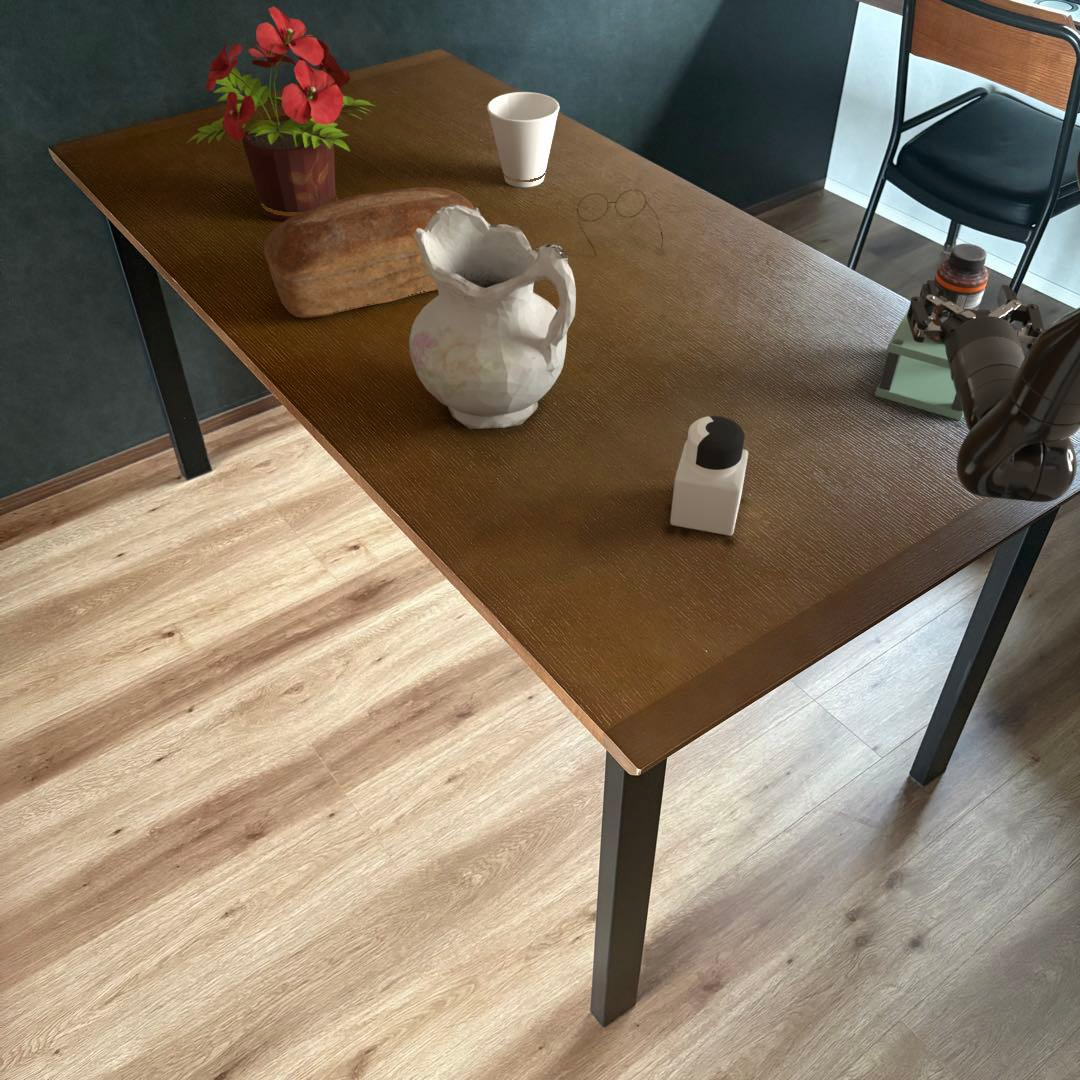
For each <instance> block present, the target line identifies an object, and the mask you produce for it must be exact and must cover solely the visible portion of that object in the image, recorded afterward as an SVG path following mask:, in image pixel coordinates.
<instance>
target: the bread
mask: <svg viewBox="0 0 1080 1080" xmlns="http://www.w3.org/2000/svg"><path fill="white" fill-rule="evenodd" d="M450 204H451V205H453V204H456V205H459V206H465V207H467V208H469V209H472V210H475V209H476V207H474V205H473V203H472V202H471V201H470V200H469V199H467V198H466V197H465V196H463V195H462V194H460V193H458V192H456V191H454V190H450V189H446V188H441V187H432V186H427V187H426V186H418V187H417V186H416V187H410V188H400V189H391V190H383V191H375V192H366V193H360V194H355V195H352V196H349V197H344V198H342V199H338V201H335V202H332V203H329V204H326V205H323V206H320V207H317V208H313V209H310V210H307V211H305V212H302V213H299V214H297V215H295V216H293V217H291V218H289V219H287V220H286V221H281V223H279V224H278V225H277V226H276V227H275V228H273V229H272V230H271V232H270V233H269V234H268V235H267V236H266V240H264V242H263V253H264V256H265V259H266V260H267V264H268V268H269V272H270V275H271V278H272V281H273V284H274V286H275V289H276V292H277V295H278V298H279V297H280V298H279V301H280V302H282V303H281V304H282V306H283V305H284V306H283V307H284V308H285V310H286V309H287V310H286V311H287V312H288V313H289V314H290V315H292V316H294V317H295V318H297V317H307V318H303V320H305V319H317V318H325V317H328V316H332V315H336V314H339V313H342V312H345V311H351V310H355V309H359V308H364V307H368V306H373V305H374V306H375V305H378V304H385V303H390V302H394V301H397V300H401V299H405V298H408V297H411V296H416V295H419V294H423V293H428V292H433V291H438V288H437V285H436V283H435V281H434V280H433V279H432V277H431V276H430V274H429V272H428V270H427V268H426V267H425V264H424V261H423V258H422V256H421V252H420V248H419V244H418V242H417V240H416V239H415V238H414V237H415V232H416V230H417V228H421V229H422V230H423V229H425V228H426V226H427V224H428V222H429V221H430V219H431V218H432V217H433V216H434V215H435V214H437V213H436V212H437V211H438V210H439V209H441V208H442V207H443V206H445V207H446V206H448V205H450ZM423 291H425V292H423ZM420 292H421V293H420ZM415 293H417V294H415ZM411 294H413V295H411ZM408 295H409V296H408ZM373 303H374V304H373ZM367 304H369V305H367ZM363 305H364V306H363ZM358 306H359V307H358ZM354 307H355V308H354ZM349 308H351V309H349ZM345 309H346V310H345ZM341 310H342V311H341ZM337 311H338V312H337ZM333 312H335V313H333ZM330 313H331V314H330ZM325 314H327V315H325ZM319 315H323V316H319ZM311 316H316V317H311Z"/></svg>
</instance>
